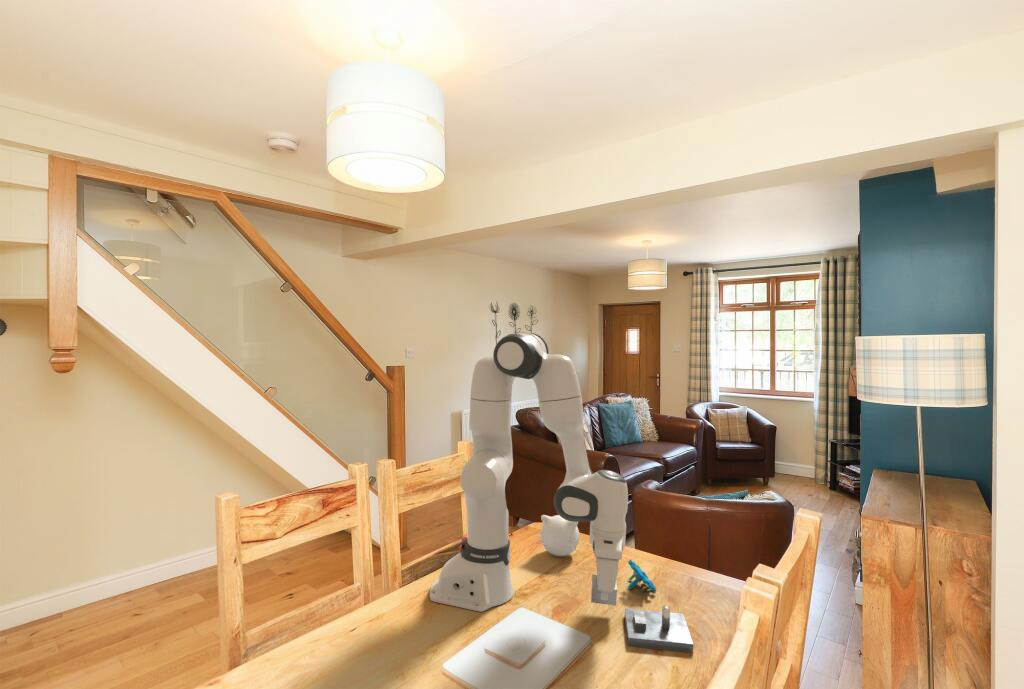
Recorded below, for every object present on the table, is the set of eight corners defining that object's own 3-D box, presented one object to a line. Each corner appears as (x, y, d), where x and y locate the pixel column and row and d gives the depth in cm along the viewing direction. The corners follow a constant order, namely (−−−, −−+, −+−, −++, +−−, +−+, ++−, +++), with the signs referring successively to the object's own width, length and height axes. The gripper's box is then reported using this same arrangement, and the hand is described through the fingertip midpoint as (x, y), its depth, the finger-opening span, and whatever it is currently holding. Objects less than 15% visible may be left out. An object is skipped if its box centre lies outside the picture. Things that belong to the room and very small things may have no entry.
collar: (591, 602, 123) (592, 586, 123) (591, 589, 129) (592, 574, 129) (616, 605, 122) (617, 589, 122) (615, 592, 128) (616, 577, 128)
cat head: (587, 549, 163) (588, 512, 163) (578, 567, 151) (578, 527, 150) (543, 542, 168) (544, 506, 168) (530, 558, 156) (531, 519, 156)
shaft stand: (628, 646, 113) (628, 617, 113) (624, 616, 125) (625, 590, 125) (693, 652, 111) (693, 624, 111) (683, 621, 123) (683, 595, 123)
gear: (661, 594, 133) (634, 564, 134) (645, 609, 133) (618, 580, 134) (654, 579, 144) (628, 552, 145) (639, 593, 144) (614, 566, 145)
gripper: (594, 519, 136) (591, 569, 137) (594, 552, 116) (590, 611, 116) (618, 522, 135) (615, 572, 136) (622, 556, 115) (618, 615, 115)
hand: (603, 590), depth 126 cm, fingers closed on collar, 6 cm apart
